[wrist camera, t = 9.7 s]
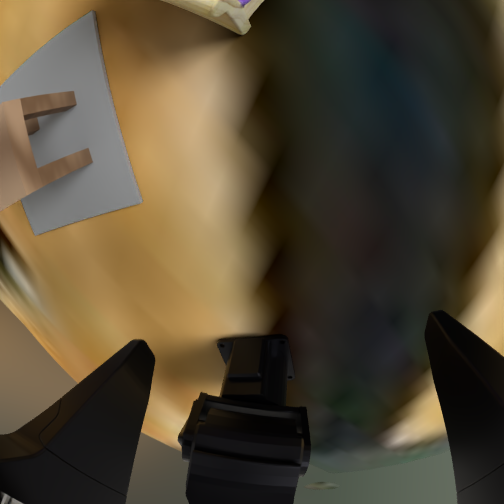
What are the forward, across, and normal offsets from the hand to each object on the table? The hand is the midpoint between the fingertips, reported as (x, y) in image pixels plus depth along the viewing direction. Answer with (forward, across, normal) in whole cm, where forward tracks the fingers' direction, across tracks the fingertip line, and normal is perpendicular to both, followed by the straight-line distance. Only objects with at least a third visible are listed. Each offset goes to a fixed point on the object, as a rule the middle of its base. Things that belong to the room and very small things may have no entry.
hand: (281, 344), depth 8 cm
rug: (+12, +17, -10) cm, 23 cm away
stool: (+12, +16, -9) cm, 22 cm away
